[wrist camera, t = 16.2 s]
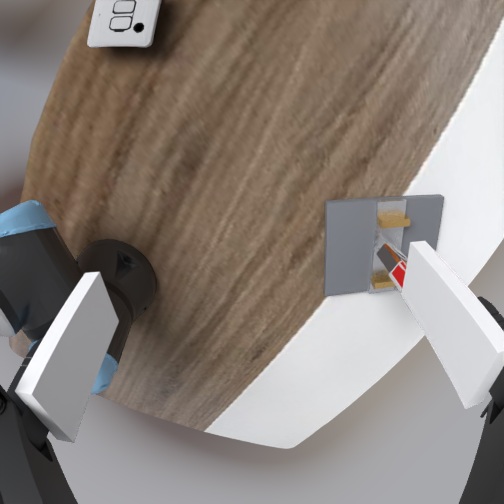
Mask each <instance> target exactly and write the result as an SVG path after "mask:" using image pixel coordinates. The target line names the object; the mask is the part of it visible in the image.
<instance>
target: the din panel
mask: <svg viewBox="0 0 504 504" xmlns="http://www.w3.org/2000/svg"><path fill="white" fill-rule="evenodd" d="M389 199H405V200H407V201H406V211H405V214H406V215H407V216H408V217H409V218H410V219H411V220H410V226H406V227H404V229H403V237H402V245H401V252H402V253H403V254H404V255H405V256H406V257H407V258H408V254H409V247H410V242H417V241H426V242H427V243H428V244H429V245H430V246H431V247H432V248H433V249H434V250H436V245H437V240H438V234H439V228H440V222H441V215H442V208H443V200H444V197H443V196H442V195H416V196H394V197H375V198H358V199H342V200H328V201H325V261H324V295H325V296H330V295H338V294H346V293H354V292H362V291H368V286H369V278H370V269H371V260H372V250H373V240H374V228H375V214H376V200H389ZM395 287H396V286H395Z"/></svg>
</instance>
